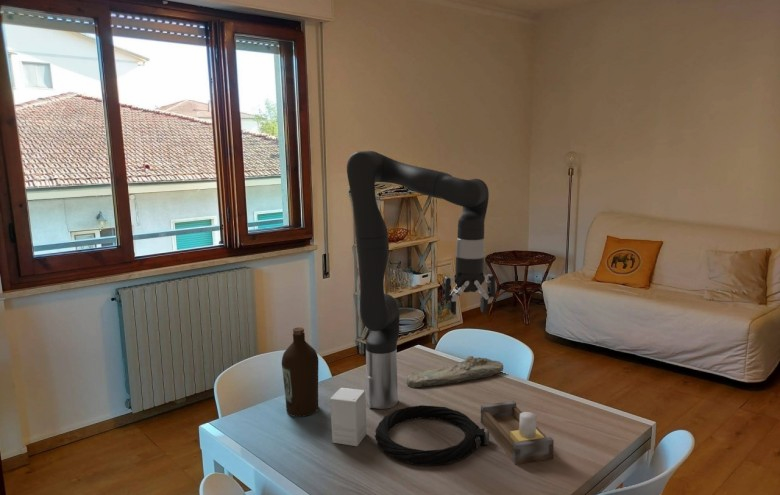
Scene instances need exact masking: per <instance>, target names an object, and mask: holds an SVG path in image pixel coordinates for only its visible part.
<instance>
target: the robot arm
mask: <svg viewBox="0 0 780 495" xmlns="http://www.w3.org/2000/svg"><path fill="white" fill-rule="evenodd" d="M346 175H347V180H348V186H349V192H350V195H351V200H352V201H351V202H352V208H353V210H352V211H353V220H354V227H355V228H354V229H355V230H354V231H355V243H356V244H355V245H356V252H357V253H356V254H357V262H358V274H359V287H360V288H359V290H360V292H359V293H360V294H359V314H360V319H361V322H362V324H363V325H364V326H365V327H366V328H367V329H368V330H369V334H368V335H367V337H366V340H365V365H366V368H365V369H366V370H365V371H364V380H365V383H364V384H365V401H366V404H367V406H368V408H369V409H377V410H378V409H379V410H385V409H391V408H393V407H396V405H397V404H398V401H399V400H398V396H399V394H398V352H397V351H398V350H397V349H398V348H397V346H398V345H397V344H398V341H399V335H400V308H399V307H400V306H399V305H398V302H397V300H396V298H395V297H393V296H392V295H390V294H389V293H385V289H384V288H385V287H384V280H385V275H386V271H387V270H386V269H387V266H388V262H389V261H388V260H389V256H390V255H389V254H390V245H389V244H390V243H389V233H388V228H387V224H386V222H385V219H384V217H383V215H382V213H381V211H380V209H379V206H378V204H377V198H376V184H377V183H386V184H387V183H388V184H394V185H398V186H402V187H404V188H406V189H408V190H411V191H413V192H415V193H418V194H421V195H424V196H428V197H431V198H436V199H439V200H444V201H446V202H448V203H451V204H453V205H456V206H460V207H462V213H461V215H460V217H459V218H458V221H457V237H456V246H455V269H454V270H455V273H454V274H455V275H454V276H447V275H444V277H443V280H442V281H443V282H442V296H441V297H442V298H444V299H445V300H446V301H448V311H449V312H450V314H452V316H454V315H455V316H456V314H457V301H456V300H457V299H458V298H459V296H461V295H462V294H463V293H469V292H470V293H471V292H472V293H476V292H478V293H479V295H480V296H481V297H480V305H479V306H480V308H479V310H480V312H481V313H482V314H483V313H484V314H485V313H486V312H487V310H488V307H489V306H488V304H489V299H490V298H494V297H495V296H496V277H495V276H494V275H493V274H491V273H488V274H485V275H484V270H485V254H486V251H485V250H486V249H485V248H486V246H485V219H486V215H487V210H488V206H489V205H488V204H489V196H490V195H489V194H490V192H489V187H488V185H487V184H486V182H485V181H484V180H481V178H480V179H479V178H471V179H465V178H459V177H455V176H453V175H451V174H450V173H448V172H444V171H439V170H434V169H431V168H426V167H422V166H416V165H412V164H407V163H404V162H401V161H398V160H396V159H393V158H391V157H388V156H386V155H384V154H381V153H379V152H377V151H374V150H361V151H356V152H353V153H352V154H351V155H350V156H349V158H348V159H347V163H346ZM375 183H376V184H375ZM484 282H486V283H487V288H486V289H487V291H486V290H485V289H484V287H483V286H482V285H483V283H484ZM453 283H454V284H455V286H454V287H453V288H452V291H451V286H452V285H453Z"/></svg>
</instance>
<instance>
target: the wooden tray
mask: <svg viewBox="0 0 780 495" xmlns="http://www.w3.org/2000/svg"><path fill="white" fill-rule="evenodd" d="M520 413H522V410H520V409H519V407H517V402H516V401H515V400H510V401H503V402H495V403H486V404H481V405H480V422H481V424H482V426H483V427H484V429H486V431H487V430H488V432H489V435H491V436H492V437H493V439H494V440H495V441H496V442H497V444H498V445H499V447H501V448H502V450H503V451H504V452H505V453H506V455H507V456H508V457H509V459H510V460H511V461H512V462H513V463H514V465H520V464H521V465H522V464H528V463H534V462H541V461H546V460H553V459H554V445H555V444H554V442H555V440H554V439H553V437H551V436H548V437H547V436H546V434H545V433H543V432H542V431H541V429H539V428H538V427H537V426H536V429H537V430H538V431H539V432H540V433H541V434H542V435H543V436H544V437H545V438H540V439H533V440H526V441H520V442H514V441H513V440H512V438H511V437H510V431H515V430H519V422H520Z"/></svg>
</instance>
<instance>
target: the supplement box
mask: <svg viewBox="0 0 780 495" xmlns="http://www.w3.org/2000/svg"><path fill="white" fill-rule="evenodd" d="M329 403H330V417H331V438H332V443H334V444H338V445H339V444H341V445H346V446H354V447H358V446H359V445H360V443H361V442H362V440H363V439H364V438H365V436H366V435H367V432H368V431H367V428H368V427H367V426H368V425H367V411H366V410H367V409H366V408H367V406H366V404H367V401H366V389H356V388H350V387H349V388H347V387H340V388H339V389H338V390H337V391H336V392H335V393H334V394H333V395H332V396H331V397H330V398H329Z"/></svg>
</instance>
